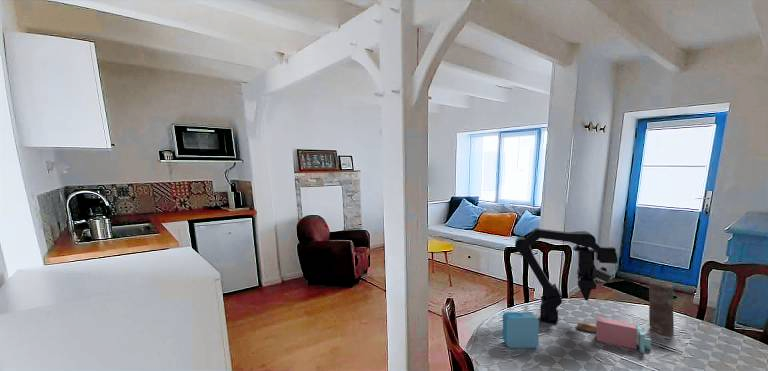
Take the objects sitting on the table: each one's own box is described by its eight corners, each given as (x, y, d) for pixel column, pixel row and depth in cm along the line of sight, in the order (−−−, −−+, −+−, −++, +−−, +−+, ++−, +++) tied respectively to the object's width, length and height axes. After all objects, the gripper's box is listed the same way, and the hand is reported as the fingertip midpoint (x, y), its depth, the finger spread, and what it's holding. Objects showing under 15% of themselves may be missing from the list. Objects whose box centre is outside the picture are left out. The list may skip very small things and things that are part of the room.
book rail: (577, 328, 126) (577, 322, 125) (577, 326, 127) (577, 320, 127) (632, 340, 116) (632, 334, 116) (631, 338, 118) (631, 332, 117)
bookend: (640, 352, 108) (640, 334, 108) (635, 341, 115) (636, 323, 115) (653, 355, 106) (653, 336, 106) (648, 344, 113) (648, 326, 113)
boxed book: (596, 340, 117) (597, 320, 116) (596, 335, 120) (596, 316, 120) (636, 349, 110) (636, 328, 110) (634, 344, 114) (634, 324, 113)
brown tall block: (644, 328, 124) (645, 281, 123) (654, 324, 127) (655, 278, 126) (667, 337, 117) (668, 288, 116) (677, 333, 120) (678, 285, 119)
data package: (533, 341, 117) (533, 311, 117) (538, 348, 113) (538, 317, 112) (502, 341, 118) (502, 312, 117) (507, 348, 113) (506, 317, 113)
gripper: (612, 270, 114) (612, 310, 115) (607, 258, 130) (607, 293, 131) (578, 266, 120) (577, 304, 121) (577, 255, 136) (577, 288, 137)
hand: (586, 297), depth 127 cm, fingers open, 6 cm apart
